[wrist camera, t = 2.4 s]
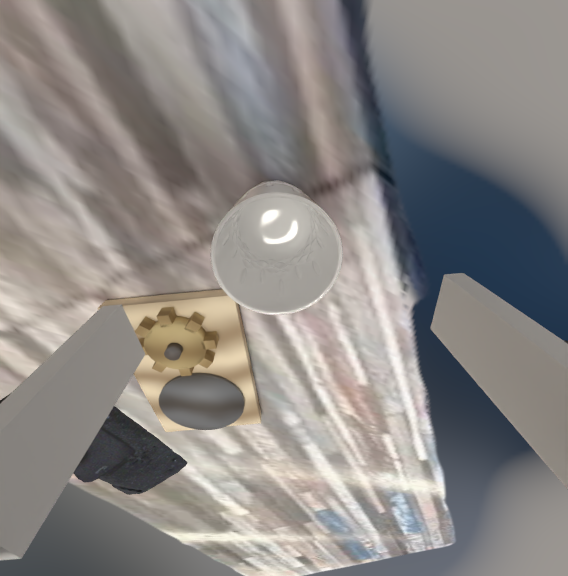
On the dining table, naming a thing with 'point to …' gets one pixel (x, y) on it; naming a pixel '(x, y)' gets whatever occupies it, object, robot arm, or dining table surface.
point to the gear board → (225, 347)
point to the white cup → (276, 250)
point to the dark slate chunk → (127, 456)
